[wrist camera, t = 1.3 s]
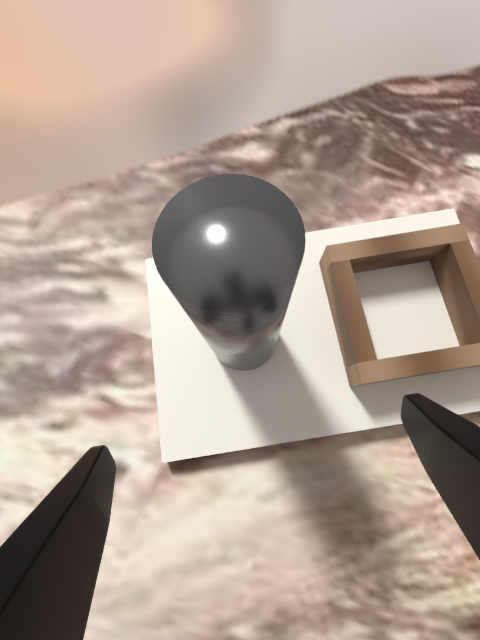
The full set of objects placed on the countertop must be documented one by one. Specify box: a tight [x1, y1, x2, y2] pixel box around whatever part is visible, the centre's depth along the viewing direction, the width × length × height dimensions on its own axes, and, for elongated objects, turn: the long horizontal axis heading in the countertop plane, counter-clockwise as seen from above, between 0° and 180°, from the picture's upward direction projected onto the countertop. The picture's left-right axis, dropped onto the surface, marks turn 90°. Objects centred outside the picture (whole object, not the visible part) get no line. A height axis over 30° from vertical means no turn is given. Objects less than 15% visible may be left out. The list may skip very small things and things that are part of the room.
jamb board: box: [145, 208, 480, 463], centre depth 22 cm, size 23×14×1 cm, turn 99°
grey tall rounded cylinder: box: [152, 174, 306, 371], centre depth 15 cm, size 4×4×13 cm
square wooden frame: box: [319, 223, 480, 387], centre depth 20 cm, size 9×9×2 cm
